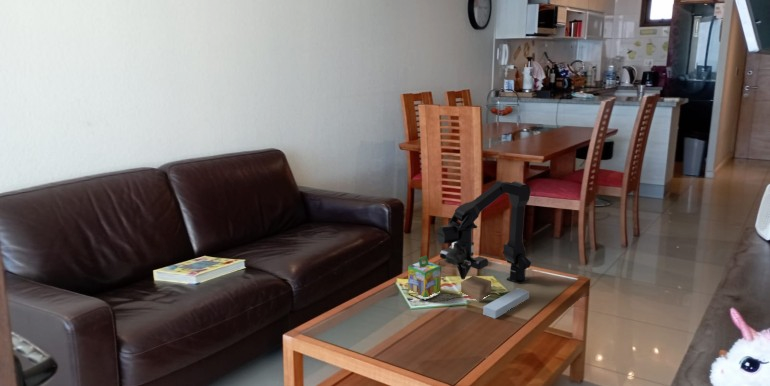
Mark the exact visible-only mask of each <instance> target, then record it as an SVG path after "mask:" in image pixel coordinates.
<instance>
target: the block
mask: <svg viewBox="0 0 770 386" xmlns="http://www.w3.org/2000/svg"><path fill="white" fill-rule="evenodd" d="M461 292H462V293H464V294H466V295H468V296H471V297H472V298H474V299H476V300H477V301H481V300H482V299H483V298H484V297H486V296H488V295H490V294H491V295H492V280H490V279H485V278H483V277H478V276H476V275H472V276H470V277H468V278H465V279H464V280H463V281H461V282H460V293H461ZM482 301H483V300H482ZM482 301H481V302H482Z"/></svg>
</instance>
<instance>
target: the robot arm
mask: <svg viewBox="0 0 770 386" xmlns="http://www.w3.org/2000/svg"><path fill="white" fill-rule="evenodd" d="M531 192H532V190H531V187H530V186H529V185H528V184H526V183H522V182H519V181H517V180H514V181H512V182H509V181H503V180H496V181H495V183H494V184H493V185H492V186H490V187H489V188H488V189H486V190H485V191H484V192H482V193H481V194H480V195H478V197H475V199H473V200H472V201H469V202H465V203H463V204H461V205H459V206H458V207H456V208H455V210H454V213H453V215H452V217H451V218H450V220H449V221H448V224H447V225H440V226H439V229H438V230H437V233H436V239H437V242H438V243H439V244H440V245H447V244H452V243H454V242H456V243H454V247H453V248H449V247H450V246H448V247H446V248H443V249H441V250H440V252H439V258H440V259H447V260H446V262H447V264H451V265H453V266H455V265H456V267H457V271H458V274H459V276H460V279H461V280H463V281H464V280H466V278H467V275H468V273H469V271H470V270H471V268H473V269H475V270H481V269H484V268H486V267H488V266H489V259H488V258H486V257H483V256H479V255H478V256H477V257H474V251H473V252H472V245H475V242H473V229H478V225H477V224H475V223H474V222H475V221H476V220H477V219H478V218H479V216H480V214H481V212H483V210H484V209H485V208H486V209H487V207H489V206H490V205H491V204H492V203H493V202H495V201H496V200H497V199H499V198H500V197H501V196H502V195H504V194H508V199H509V201H510V204H511V209H510V211H511V212H510V226H509V228H510V229H509V239H508V241H507V242H506V243H504V244H503V251H502V254H503V256H504V259H506V263H507V264H510V269H509V276H508V277H507V278H506V280H507V281H510V282H514V283H517V284H523V283H524V282H526V281H528V280H529V277H527V276H526V271H527V270H528V268H530V267H531V265H532V262H531V260H529V259H528V258H527V256H526V255H527V254H526V248H525V245H524V242H523V235H524V234H523V233H524V221H525V219H524V218H525V211H526V209H525V208H526V205H527V204H528V203H529V201H530V197H531ZM471 256H473V257H471Z"/></svg>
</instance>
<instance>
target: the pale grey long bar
mask: <svg viewBox="0 0 770 386" xmlns="http://www.w3.org/2000/svg"><path fill="white" fill-rule="evenodd" d="M528 298H529V299H530V291H528V290H525V289H523V288H519V287H517V288H515V289H513V290H511V291H510V292H507V293H506V294H504V295H502V296H500V297H499V298H496V299H495V300H492V301H491V302H489V303H487V304H485V305H484V306H482V307H483V310H482V314H483V315H484V316H487V317H489V318H492V319H497V318H498V317H501V316H502V315H504V314H505V313H508V312H509V311H511V310H512V309H511V308H513V307H514V306H516V305H517V304H518V303H520V302H522V301H523V300H526V299H528ZM529 299H528V300H529ZM516 307H517V306H516ZM510 309H511V310H510ZM513 309H514V308H513ZM508 310H509V311H508ZM507 311H508V312H507Z"/></svg>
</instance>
